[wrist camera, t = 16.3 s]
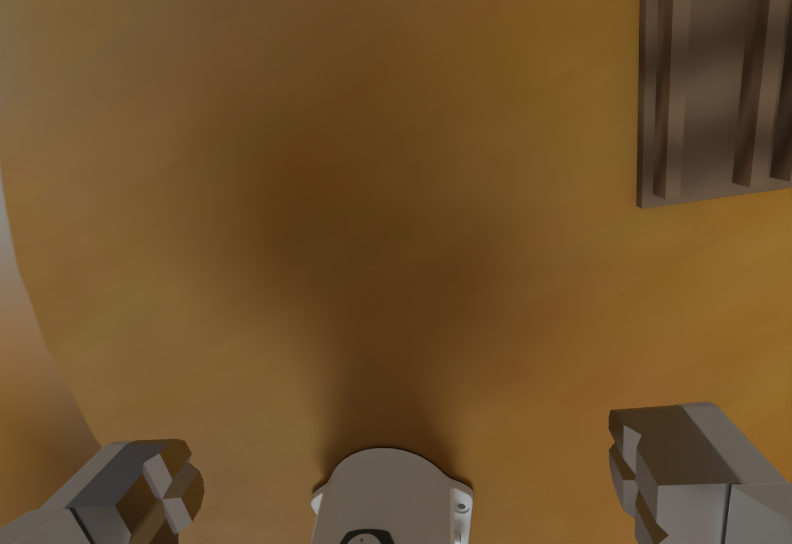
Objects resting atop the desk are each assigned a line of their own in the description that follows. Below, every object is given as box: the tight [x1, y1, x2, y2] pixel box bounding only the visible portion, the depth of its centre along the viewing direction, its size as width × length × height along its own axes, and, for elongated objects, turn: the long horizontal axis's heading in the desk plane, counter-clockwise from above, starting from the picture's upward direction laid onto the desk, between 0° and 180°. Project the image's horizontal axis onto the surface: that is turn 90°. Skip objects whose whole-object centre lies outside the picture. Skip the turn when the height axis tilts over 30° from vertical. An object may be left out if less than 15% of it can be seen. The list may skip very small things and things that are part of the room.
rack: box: [637, 0, 792, 209], centre depth 27 cm, size 20×16×3 cm
